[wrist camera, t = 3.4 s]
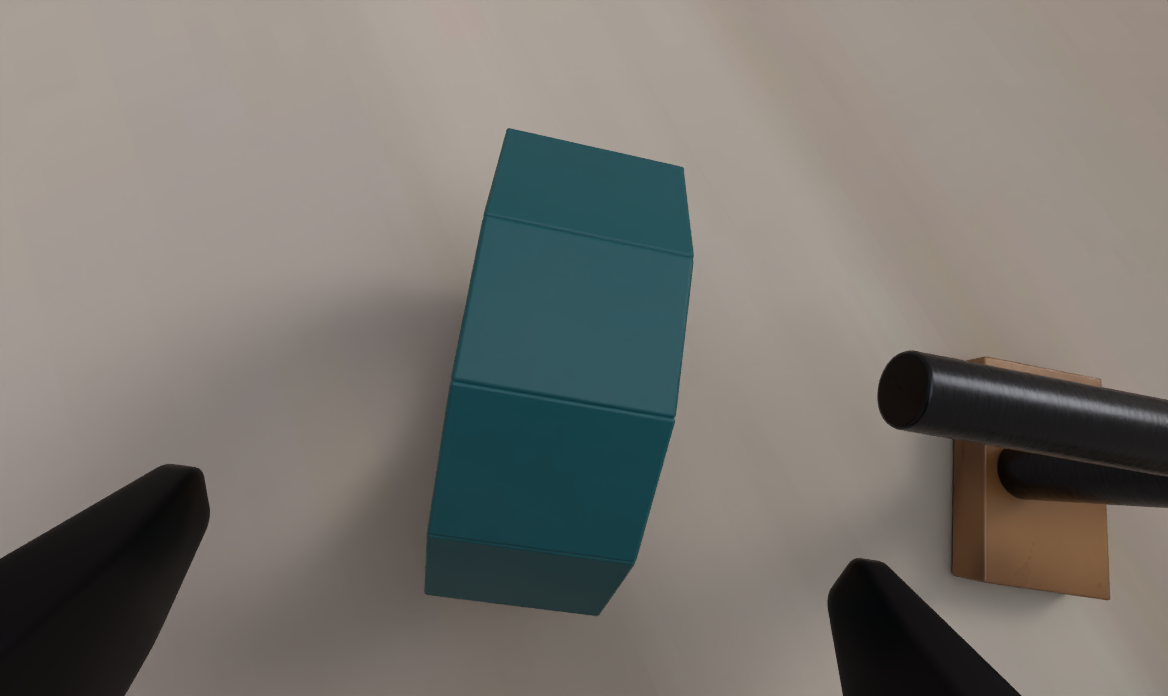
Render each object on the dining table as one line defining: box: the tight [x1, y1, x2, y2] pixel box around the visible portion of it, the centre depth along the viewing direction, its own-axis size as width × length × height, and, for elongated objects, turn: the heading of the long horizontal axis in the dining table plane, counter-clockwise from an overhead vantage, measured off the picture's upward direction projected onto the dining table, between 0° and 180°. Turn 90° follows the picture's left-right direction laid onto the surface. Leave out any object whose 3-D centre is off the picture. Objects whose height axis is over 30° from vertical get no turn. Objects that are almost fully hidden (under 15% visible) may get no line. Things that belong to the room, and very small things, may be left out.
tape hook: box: [877, 351, 1168, 508], centre depth 17 cm, size 2×12×12 cm, turn 81°
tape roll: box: [424, 128, 694, 616], centre depth 16 cm, size 11×4×11 cm, turn 172°
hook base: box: [952, 357, 1110, 600], centre depth 22 cm, size 8×5×2 cm, turn 172°
